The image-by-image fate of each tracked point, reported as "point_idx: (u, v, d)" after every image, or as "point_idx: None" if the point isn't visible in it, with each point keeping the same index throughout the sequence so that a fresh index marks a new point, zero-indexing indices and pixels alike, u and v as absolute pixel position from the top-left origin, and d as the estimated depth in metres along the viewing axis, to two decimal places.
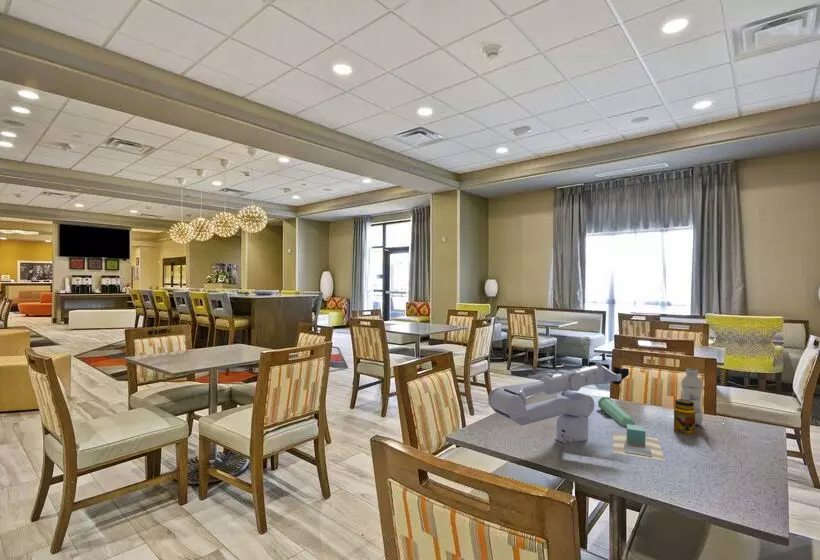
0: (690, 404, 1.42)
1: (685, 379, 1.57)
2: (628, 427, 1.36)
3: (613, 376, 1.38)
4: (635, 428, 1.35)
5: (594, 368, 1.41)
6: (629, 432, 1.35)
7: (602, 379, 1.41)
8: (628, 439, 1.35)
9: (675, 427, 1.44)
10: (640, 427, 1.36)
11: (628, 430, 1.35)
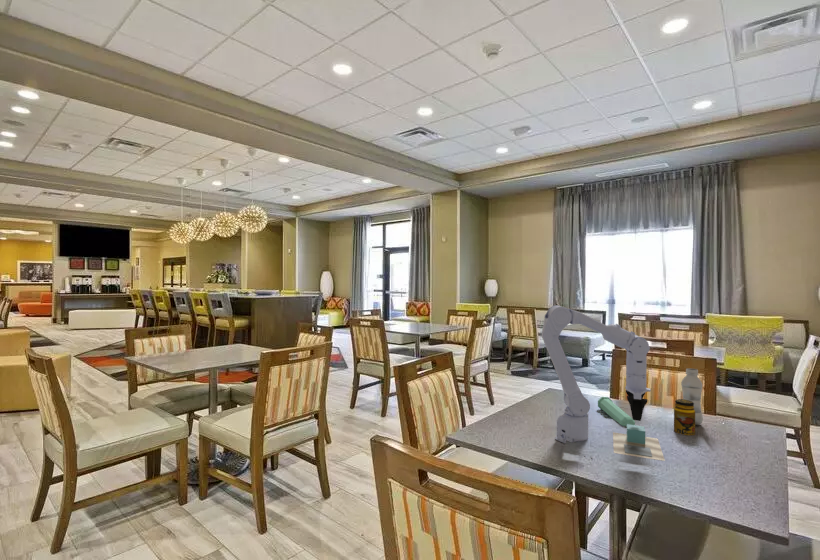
0: (690, 404, 1.42)
1: (685, 379, 1.57)
2: (628, 427, 1.36)
3: (638, 392, 1.31)
4: (635, 428, 1.35)
5: (645, 378, 1.34)
6: (629, 432, 1.35)
7: (632, 384, 1.34)
8: (628, 439, 1.35)
9: (675, 427, 1.44)
10: (640, 427, 1.36)
11: (628, 430, 1.35)
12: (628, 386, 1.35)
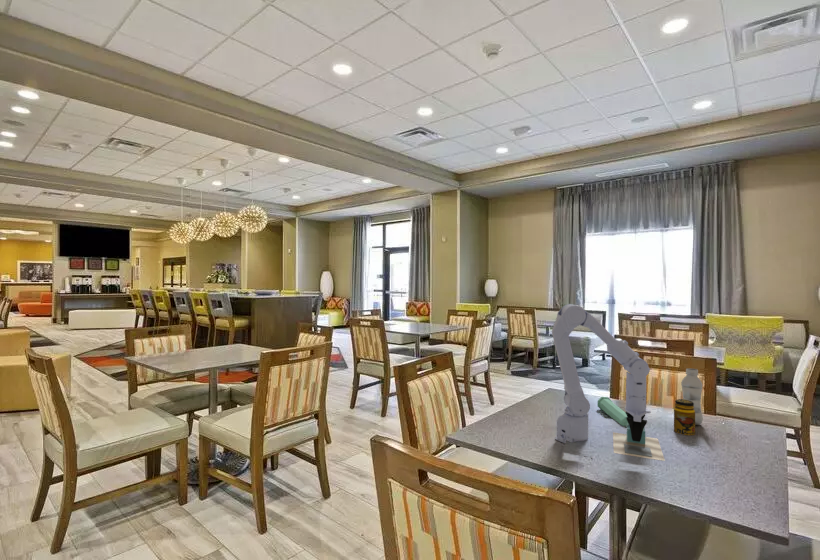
0: (690, 404, 1.42)
1: (685, 379, 1.57)
2: (628, 427, 1.36)
3: (637, 414, 1.31)
4: None
5: (645, 400, 1.34)
6: (629, 432, 1.35)
7: (632, 406, 1.34)
8: (628, 439, 1.35)
9: (675, 427, 1.44)
10: None
11: (628, 430, 1.35)
12: (628, 407, 1.35)
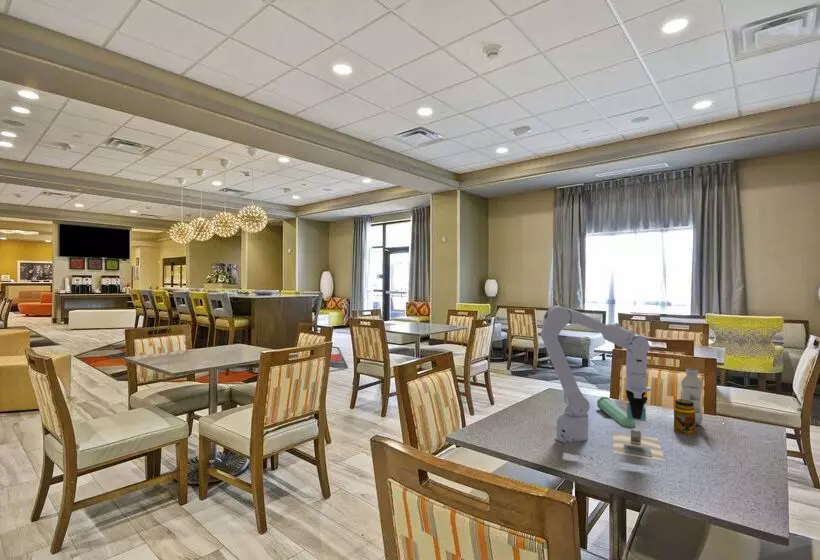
0: (690, 404, 1.42)
1: (685, 379, 1.57)
2: (628, 405, 1.36)
3: (638, 391, 1.31)
4: None
5: (645, 377, 1.33)
6: (629, 409, 1.34)
7: (632, 383, 1.34)
8: (628, 417, 1.34)
9: (675, 427, 1.44)
10: None
11: (628, 407, 1.34)
12: (628, 385, 1.35)
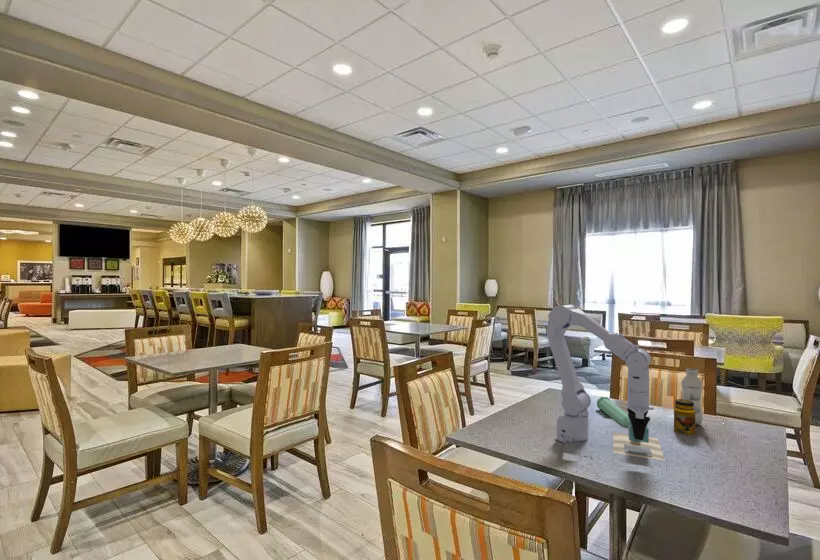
0: (690, 404, 1.42)
1: (685, 379, 1.57)
2: (630, 425, 1.28)
3: (640, 411, 1.22)
4: None
5: (648, 396, 1.25)
6: (631, 430, 1.26)
7: (634, 402, 1.26)
8: (630, 437, 1.26)
9: (675, 427, 1.44)
10: None
11: (630, 428, 1.26)
12: (630, 404, 1.27)
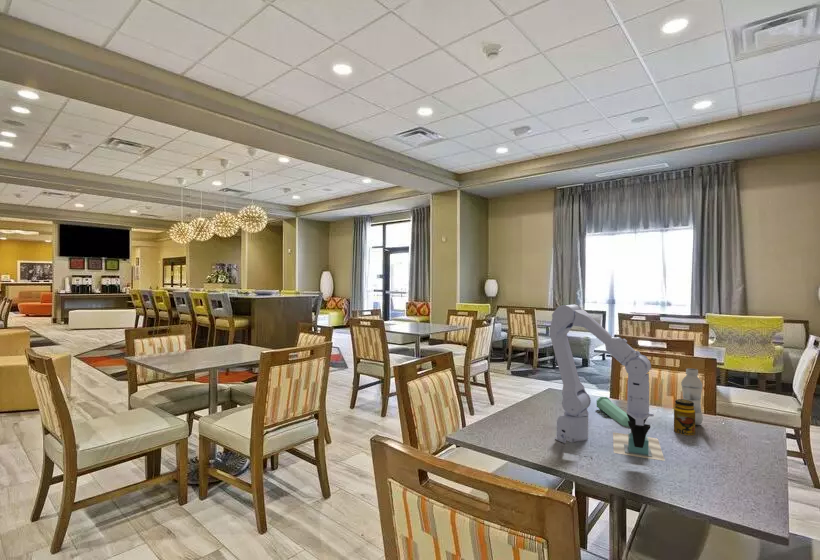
0: (690, 404, 1.42)
1: (685, 379, 1.57)
2: (630, 436, 1.28)
3: (640, 417, 1.22)
4: None
5: (647, 402, 1.25)
6: (631, 441, 1.26)
7: (634, 409, 1.26)
8: (630, 449, 1.26)
9: (675, 427, 1.44)
10: None
11: (630, 439, 1.26)
12: (629, 410, 1.27)
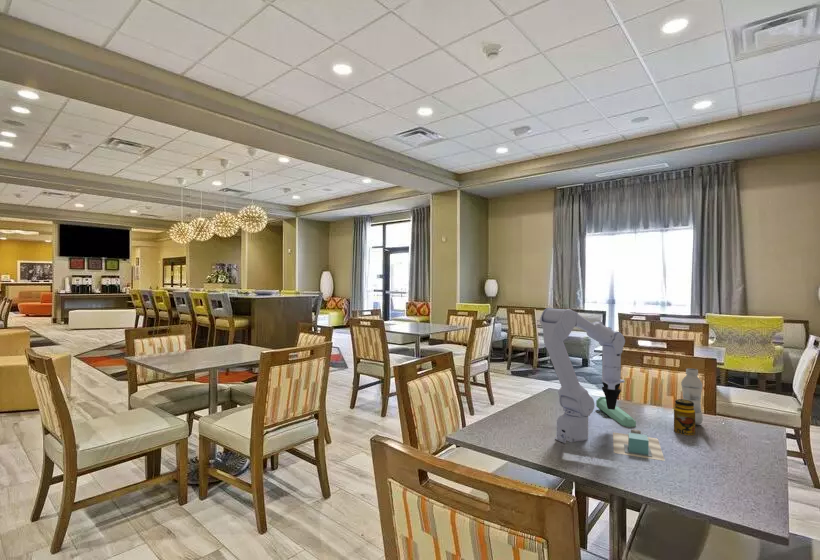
0: (690, 404, 1.42)
1: (685, 379, 1.57)
2: (630, 436, 1.28)
3: (612, 383, 1.41)
4: (637, 437, 1.27)
5: (619, 370, 1.44)
6: (631, 441, 1.26)
7: (607, 376, 1.44)
8: (630, 449, 1.26)
9: (675, 427, 1.44)
10: (643, 436, 1.28)
11: (630, 439, 1.26)
12: (604, 377, 1.45)
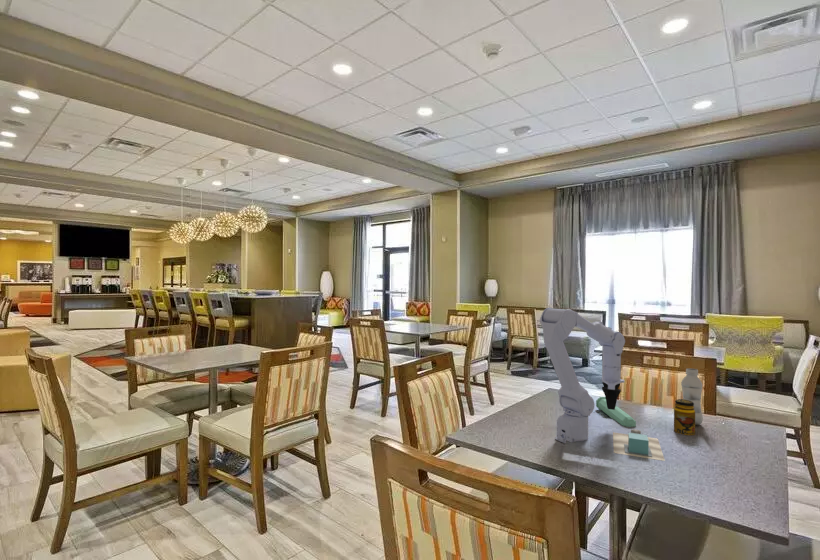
0: (690, 404, 1.42)
1: (685, 379, 1.57)
2: (630, 436, 1.28)
3: (612, 383, 1.41)
4: (637, 437, 1.27)
5: (619, 370, 1.44)
6: (631, 441, 1.26)
7: (607, 376, 1.44)
8: (630, 449, 1.26)
9: (675, 427, 1.44)
10: (643, 436, 1.28)
11: (630, 439, 1.26)
12: (604, 377, 1.45)
